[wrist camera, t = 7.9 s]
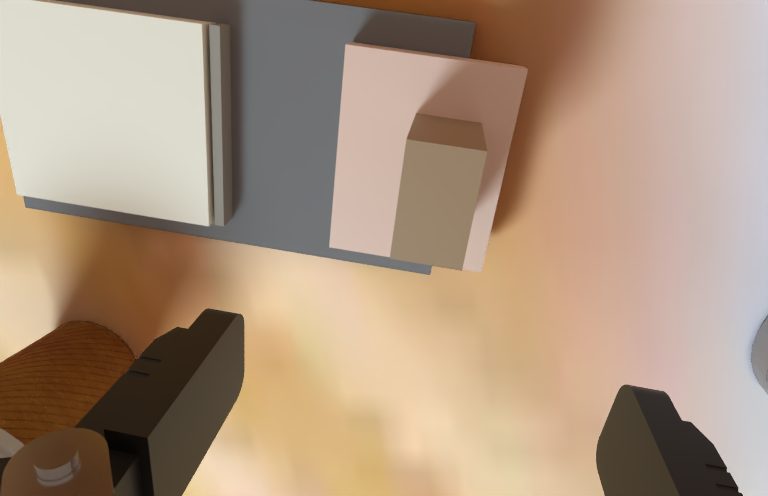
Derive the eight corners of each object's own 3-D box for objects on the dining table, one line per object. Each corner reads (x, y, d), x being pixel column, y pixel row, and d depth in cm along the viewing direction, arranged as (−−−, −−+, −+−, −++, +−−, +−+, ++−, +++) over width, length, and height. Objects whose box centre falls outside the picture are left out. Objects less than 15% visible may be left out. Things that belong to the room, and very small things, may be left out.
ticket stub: (524, 65, 23) (546, 86, 18) (479, 259, 28) (486, 327, 22) (351, 41, 24) (318, 54, 18) (335, 235, 28) (303, 295, 23)
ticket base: (475, 22, 24) (477, 24, 22) (430, 266, 30) (428, 288, 27) (-9, -44, 25) (-54, -48, 23) (37, 201, 31) (5, 217, 29)
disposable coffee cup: (77, 274, 33) (-105, 404, 22) (186, 372, 36) (69, 532, 25) (4, 344, 37) (-183, 486, 26) (108, 429, 39) (-24, 591, 28)
